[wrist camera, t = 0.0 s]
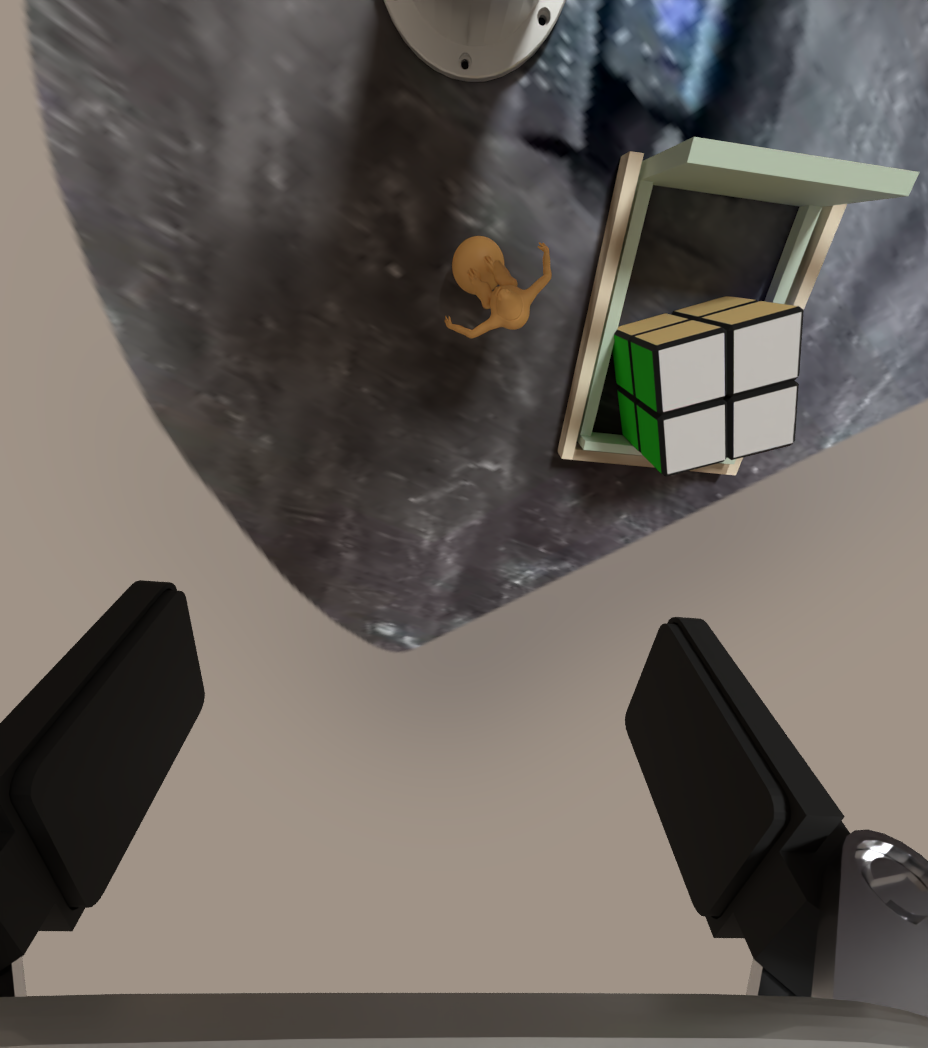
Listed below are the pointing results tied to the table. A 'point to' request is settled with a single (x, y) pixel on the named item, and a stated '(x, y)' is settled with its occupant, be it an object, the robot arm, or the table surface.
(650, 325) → the puzzle cube
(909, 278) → the table surface
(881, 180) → the green frame
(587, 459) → the frame
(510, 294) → the figurine
